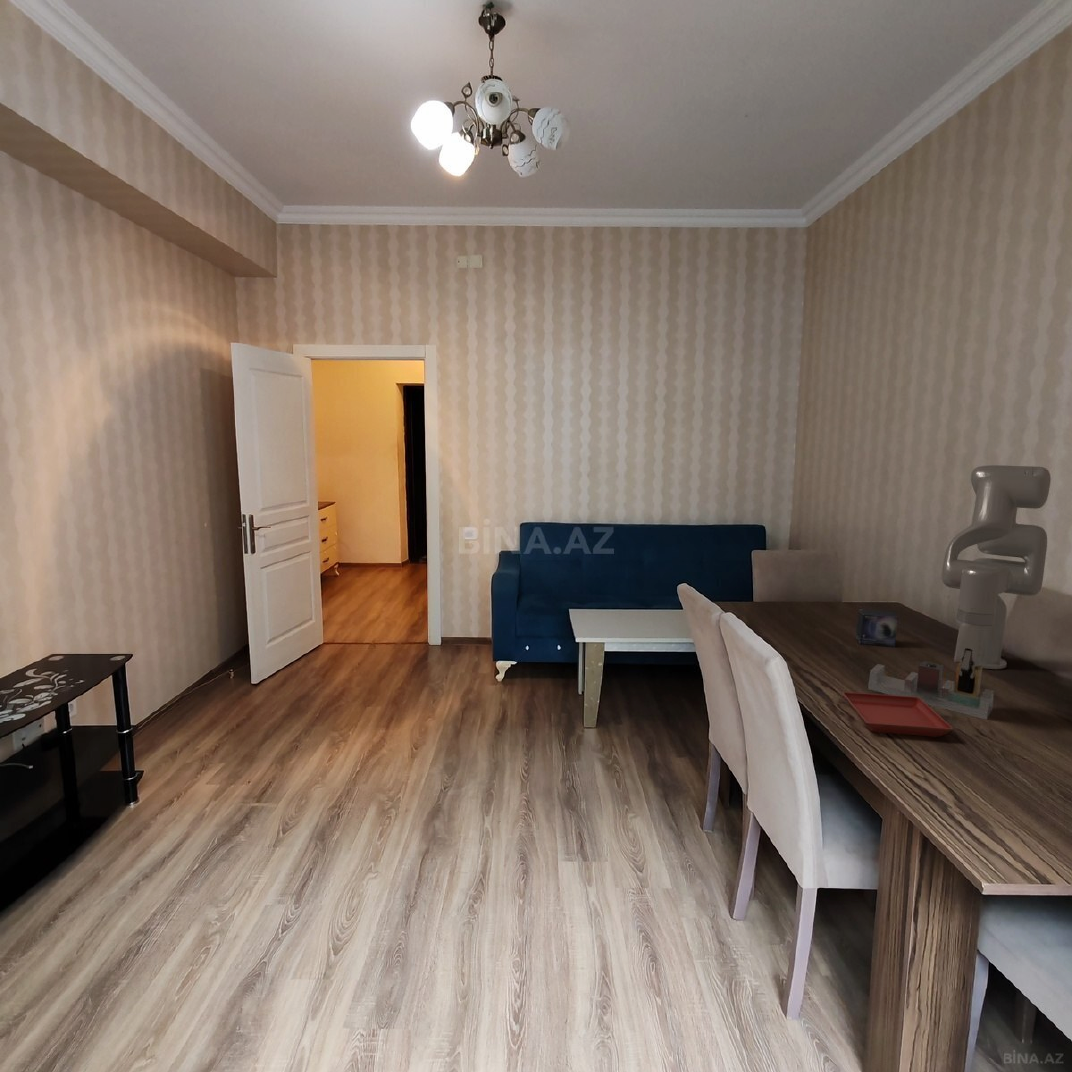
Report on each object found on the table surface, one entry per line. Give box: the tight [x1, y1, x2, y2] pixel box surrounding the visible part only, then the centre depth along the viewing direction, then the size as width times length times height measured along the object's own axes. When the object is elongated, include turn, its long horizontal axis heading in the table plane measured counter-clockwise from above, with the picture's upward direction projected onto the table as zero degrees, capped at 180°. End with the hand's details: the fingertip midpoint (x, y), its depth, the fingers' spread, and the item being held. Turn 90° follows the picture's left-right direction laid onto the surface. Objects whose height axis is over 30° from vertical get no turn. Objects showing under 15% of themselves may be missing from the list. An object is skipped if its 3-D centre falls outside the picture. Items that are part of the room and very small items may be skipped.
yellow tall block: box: [953, 661, 983, 698], centre depth 152 cm, size 4×4×7 cm
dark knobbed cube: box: [916, 660, 944, 696], centre depth 158 cm, size 4×4×7 cm
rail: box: [867, 663, 995, 720], centre depth 158 cm, size 8×26×5 cm, turn 46°
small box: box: [854, 608, 899, 648], centre depth 201 cm, size 11×6×10 cm, turn 76°
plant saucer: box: [842, 691, 954, 738], centre depth 146 cm, size 18×18×3 cm
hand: (967, 688), depth 152 cm, fingers closed on yellow tall block, 4 cm apart
